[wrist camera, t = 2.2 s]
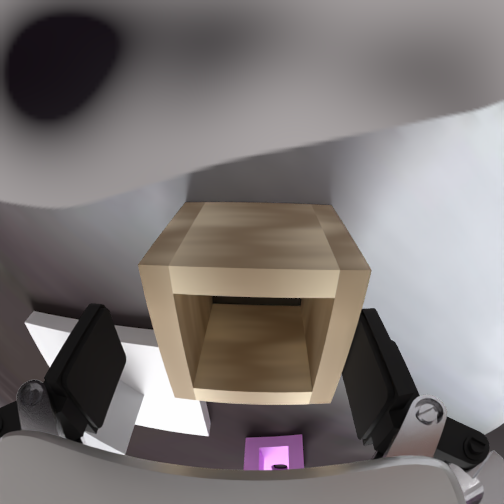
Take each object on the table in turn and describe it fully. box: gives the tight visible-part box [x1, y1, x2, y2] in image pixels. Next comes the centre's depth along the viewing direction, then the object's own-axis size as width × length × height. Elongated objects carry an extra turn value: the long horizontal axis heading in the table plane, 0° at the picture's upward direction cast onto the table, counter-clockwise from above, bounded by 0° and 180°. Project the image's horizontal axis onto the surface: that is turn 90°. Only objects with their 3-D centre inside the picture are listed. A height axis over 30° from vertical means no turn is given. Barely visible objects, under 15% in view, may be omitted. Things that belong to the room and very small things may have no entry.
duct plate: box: [25, 311, 211, 455], centre depth 18 cm, size 14×12×7 cm
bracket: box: [244, 434, 304, 470], centre depth 24 cm, size 13×6×7 cm, turn 9°
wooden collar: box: [138, 202, 371, 405], centre depth 12 cm, size 7×7×6 cm
